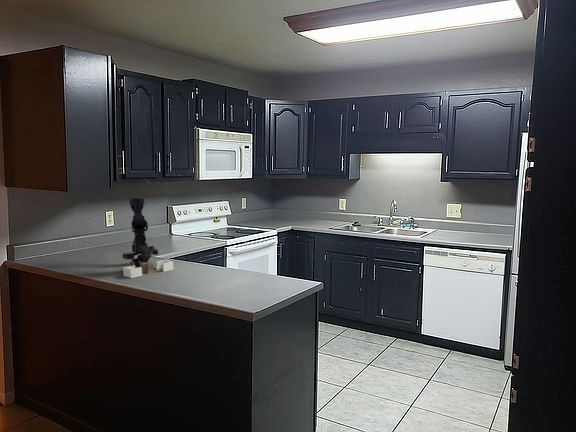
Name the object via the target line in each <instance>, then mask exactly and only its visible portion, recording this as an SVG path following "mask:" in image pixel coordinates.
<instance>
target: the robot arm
mask: <svg viewBox="0 0 576 432" xmlns="http://www.w3.org/2000/svg"><path fill="white" fill-rule="evenodd" d="M128 203H129V206H130V210H131V211H132V213H133V216H132V220H131V232H132V233H133V236H134V237H133V242H132V244H131V252H123V254H122V259H125V260H131V261H133V263H134V264H135V266H136V268H138V267H139V262H138V261H141V262H147V263H149V260H150V259H151V258H152V257H153V256H154V255H155V256H157V255H159V250H158V249H157V248H155V246H154V245H150V246H149V245H148V243H147V242H146V241H147V238H146V233H145V232H147V231H148V230H149V226H148V221H147V220H146V219H145V218H146V217H145V216H144V214H143V213H142V212H143V209H144V206H145V198H143V197H130V199H128Z"/></svg>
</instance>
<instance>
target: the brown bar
mask: <svg viewBox="0 0 576 432" xmlns="http://www.w3.org/2000/svg"><path fill="white" fill-rule="evenodd" d="M138 262H139V267H142V274H143V273H144V274H153V273H155V272H154V263H153V262H148V263H147V262H141V261H138ZM133 265H135V264H134V263H133V261H132V260H131V261H129V266H133ZM135 268H136V266H135Z"/></svg>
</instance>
